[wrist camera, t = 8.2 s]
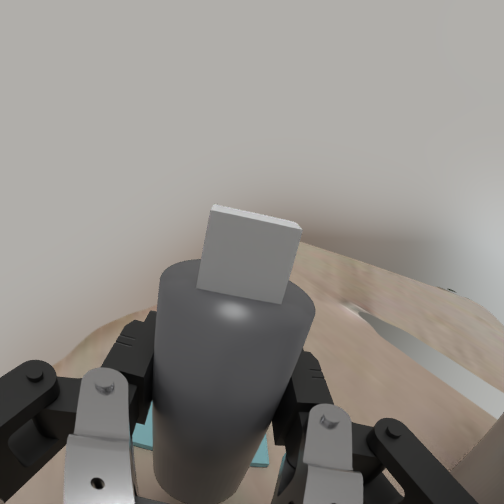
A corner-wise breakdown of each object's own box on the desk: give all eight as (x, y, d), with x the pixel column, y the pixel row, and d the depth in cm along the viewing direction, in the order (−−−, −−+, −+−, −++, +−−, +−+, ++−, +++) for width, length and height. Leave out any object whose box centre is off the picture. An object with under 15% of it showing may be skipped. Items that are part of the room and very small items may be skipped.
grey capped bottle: (240, 443, 13) (314, 218, 9) (242, 509, 9) (367, 261, 5) (161, 430, 12) (187, 190, 9) (146, 495, 8) (147, 214, 5)
